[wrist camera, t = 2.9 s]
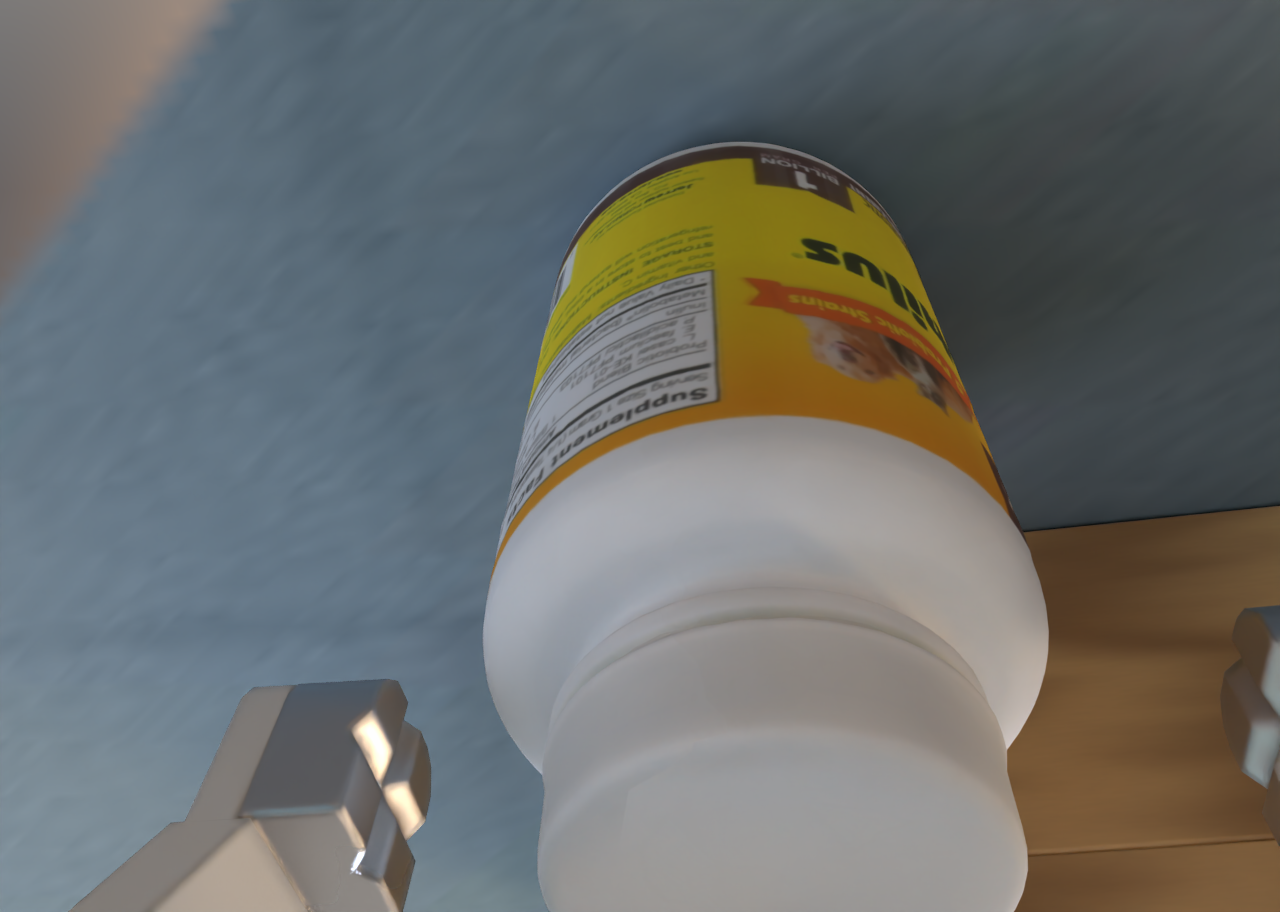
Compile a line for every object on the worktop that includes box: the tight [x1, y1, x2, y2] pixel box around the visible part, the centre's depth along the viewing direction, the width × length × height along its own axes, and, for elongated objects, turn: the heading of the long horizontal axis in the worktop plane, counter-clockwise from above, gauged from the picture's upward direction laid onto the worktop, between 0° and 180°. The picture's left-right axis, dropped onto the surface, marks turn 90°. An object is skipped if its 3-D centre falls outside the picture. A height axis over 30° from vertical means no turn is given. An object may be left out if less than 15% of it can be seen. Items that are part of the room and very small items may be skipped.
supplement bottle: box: [483, 142, 1049, 912], centre depth 13 cm, size 6×6×10 cm
